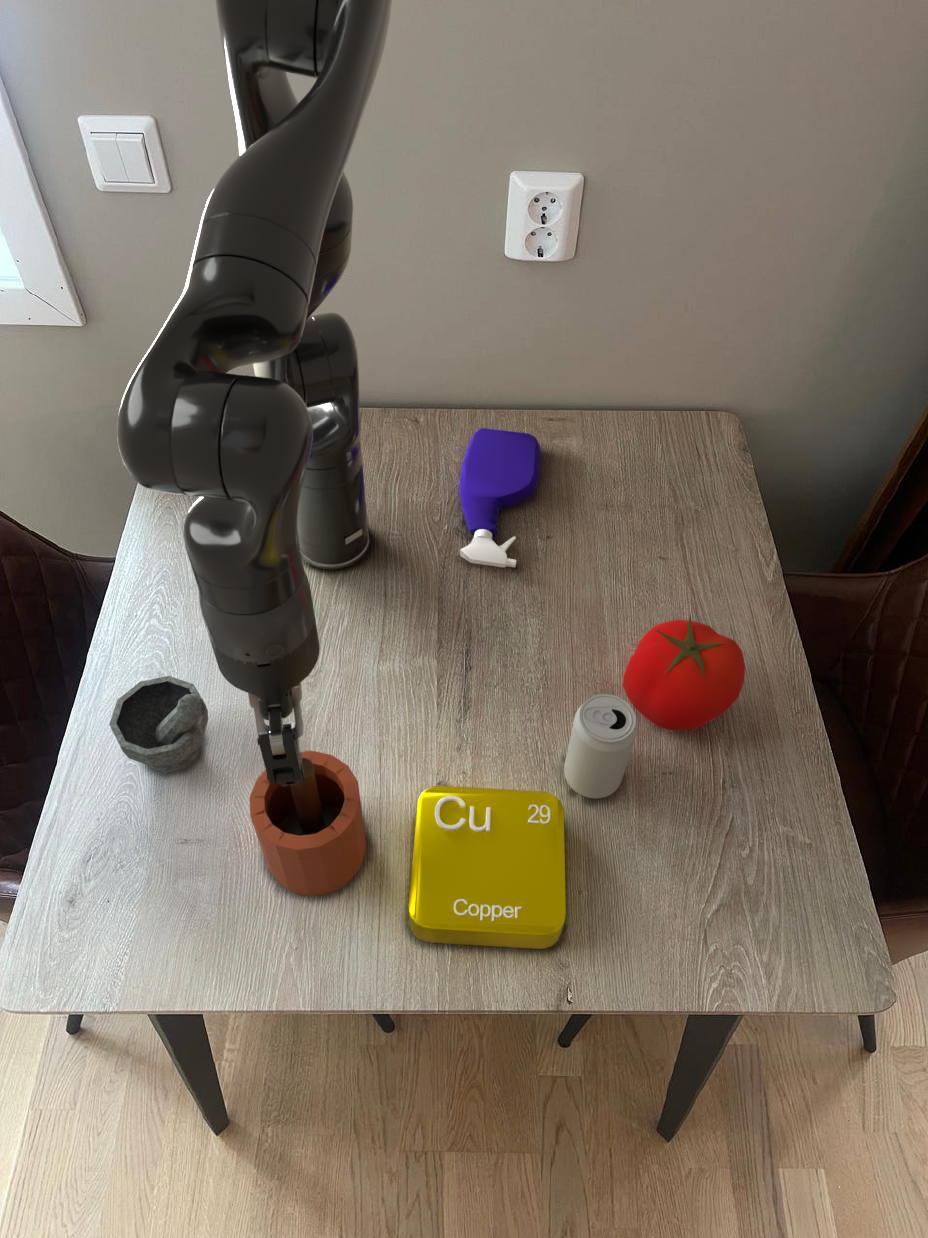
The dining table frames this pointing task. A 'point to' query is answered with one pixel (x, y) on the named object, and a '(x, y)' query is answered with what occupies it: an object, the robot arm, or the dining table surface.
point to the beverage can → (600, 745)
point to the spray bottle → (495, 488)
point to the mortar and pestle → (160, 723)
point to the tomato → (684, 675)
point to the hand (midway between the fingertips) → (288, 735)
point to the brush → (308, 806)
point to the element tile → (488, 868)
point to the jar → (312, 857)
